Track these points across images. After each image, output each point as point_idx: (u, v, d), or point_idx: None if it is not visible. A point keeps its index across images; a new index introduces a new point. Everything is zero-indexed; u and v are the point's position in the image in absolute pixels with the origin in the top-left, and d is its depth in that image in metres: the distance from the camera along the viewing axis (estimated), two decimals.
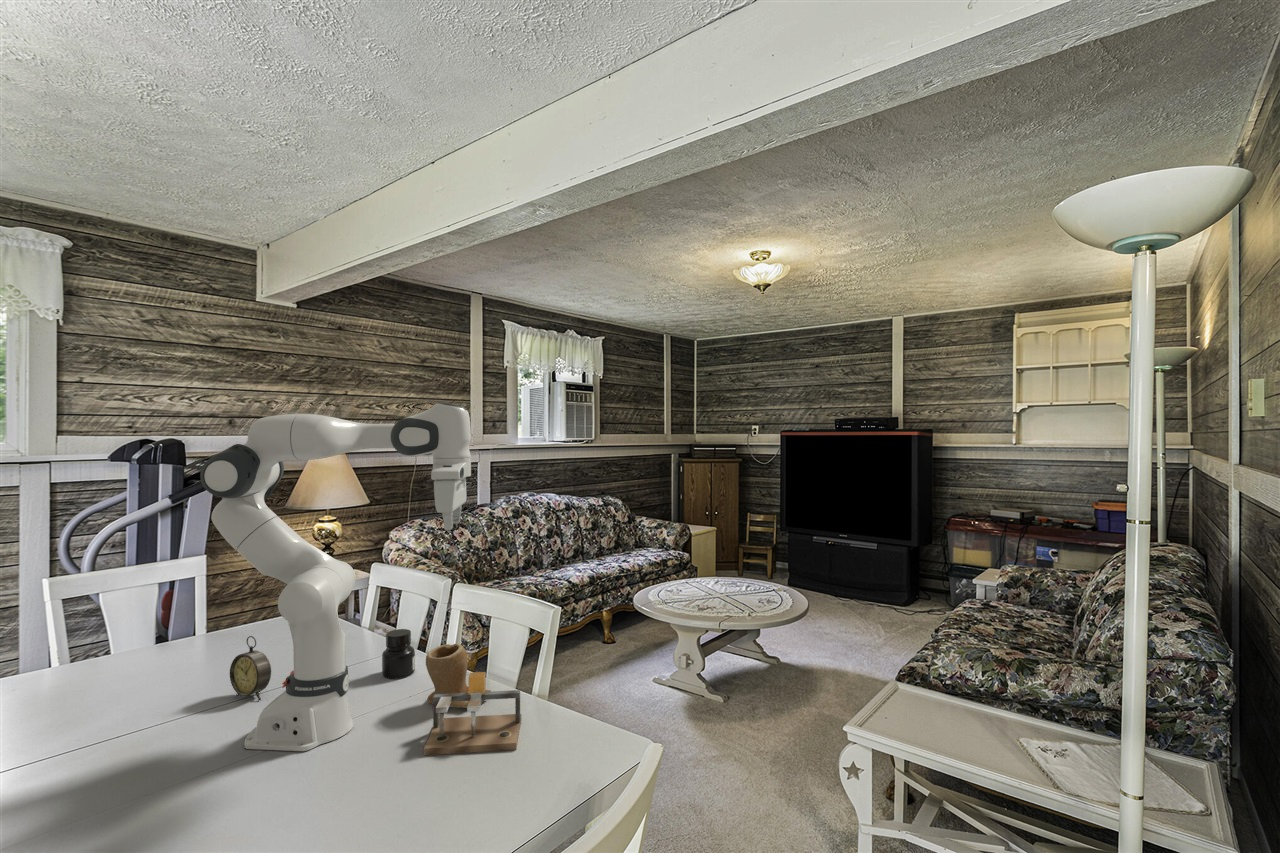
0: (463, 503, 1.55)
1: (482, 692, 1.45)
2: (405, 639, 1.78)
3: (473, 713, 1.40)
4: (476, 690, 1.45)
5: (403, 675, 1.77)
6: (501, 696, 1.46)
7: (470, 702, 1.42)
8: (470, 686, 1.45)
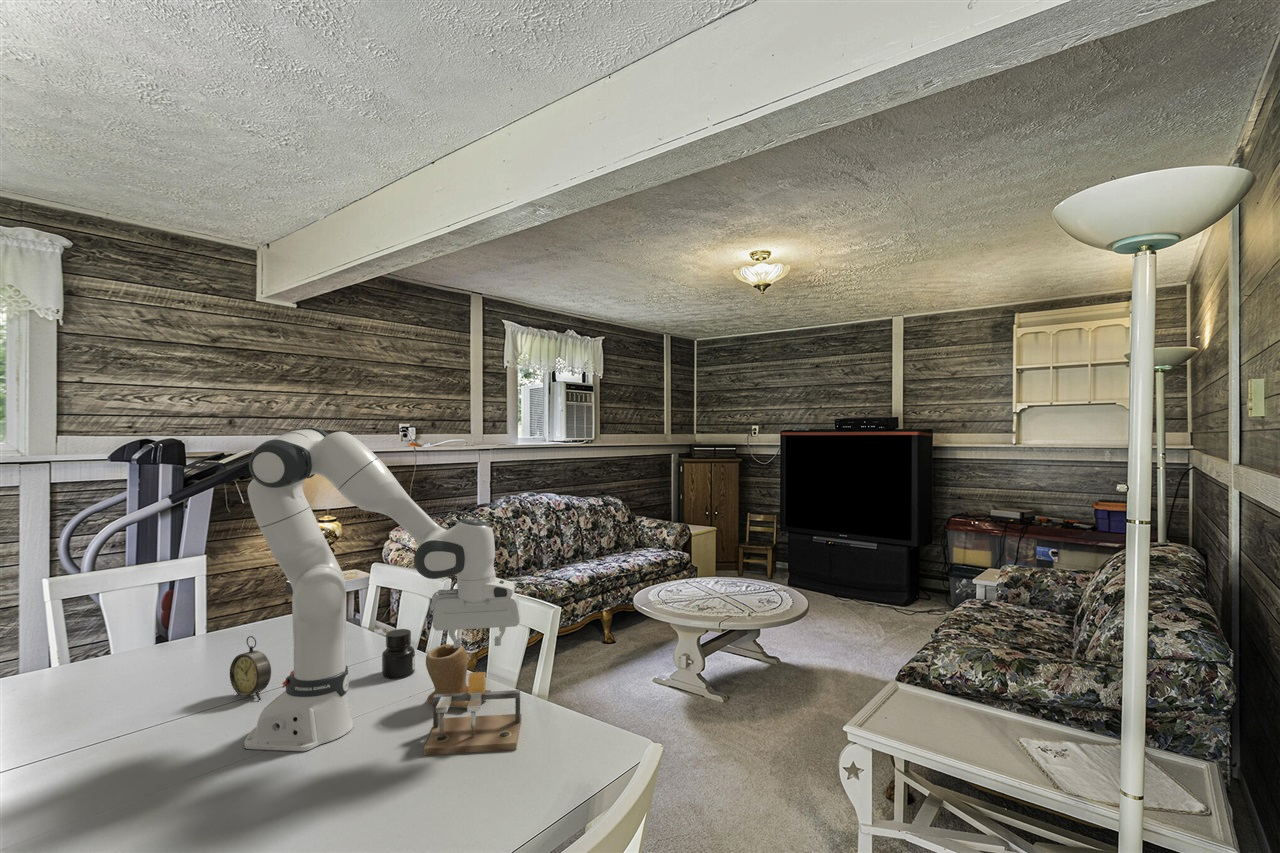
0: None
1: (482, 692, 1.45)
2: (405, 639, 1.78)
3: (473, 713, 1.40)
4: (476, 690, 1.45)
5: (403, 675, 1.77)
6: (501, 696, 1.46)
7: (470, 702, 1.42)
8: (470, 686, 1.45)
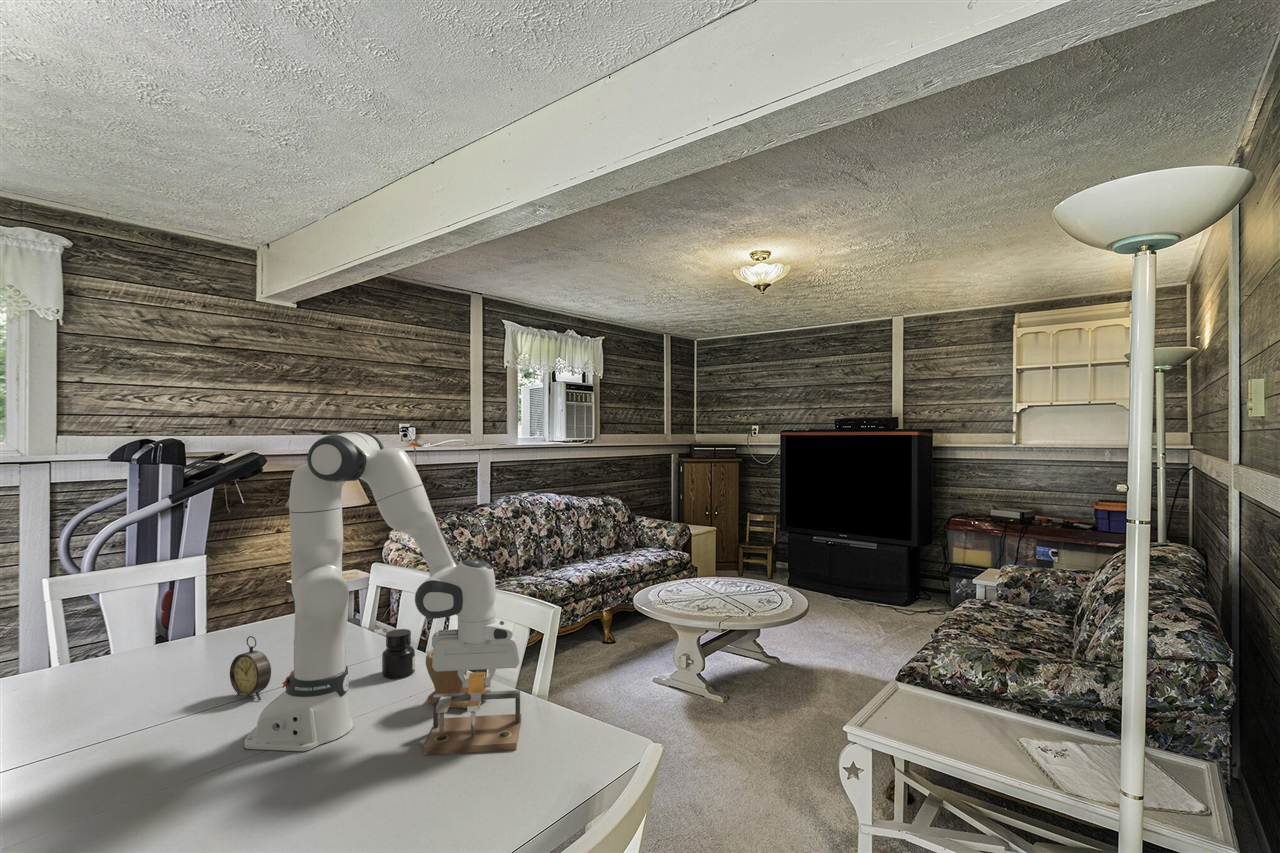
0: None
1: (482, 692, 1.45)
2: (405, 639, 1.78)
3: (473, 713, 1.40)
4: (476, 690, 1.45)
5: (403, 675, 1.77)
6: (501, 696, 1.46)
7: (470, 702, 1.42)
8: (470, 686, 1.45)
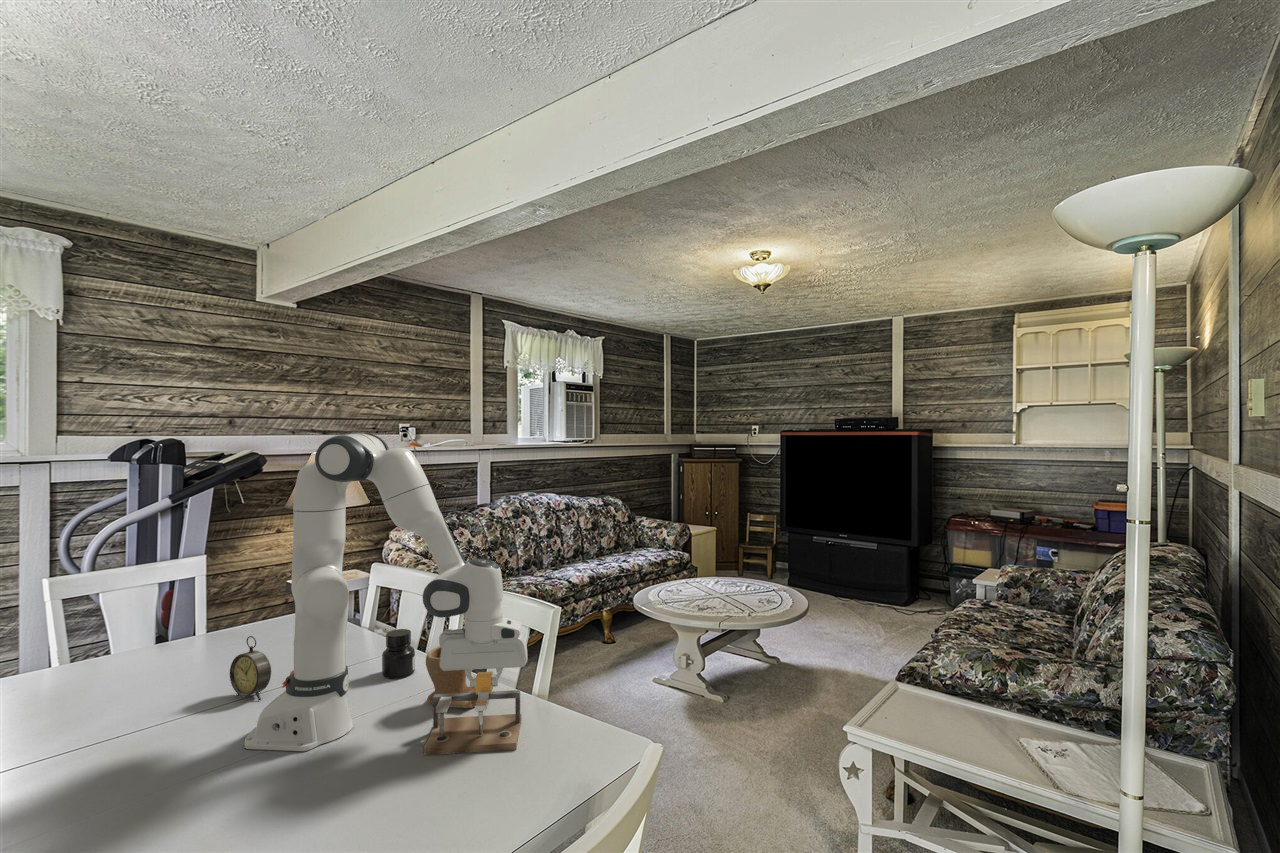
0: None
1: (489, 692, 1.45)
2: (405, 639, 1.78)
3: (481, 713, 1.40)
4: (483, 690, 1.45)
5: (403, 675, 1.77)
6: (501, 696, 1.46)
7: (477, 702, 1.42)
8: (477, 686, 1.45)
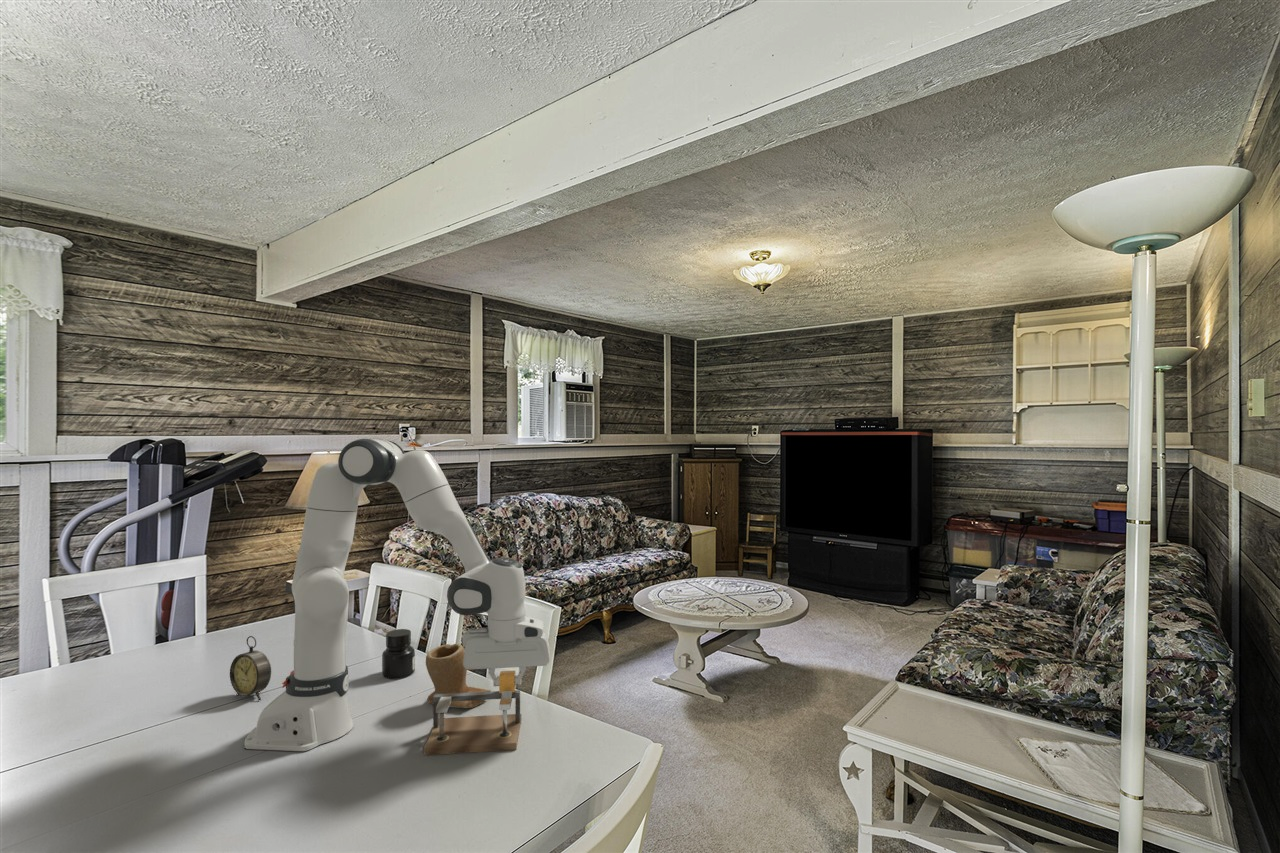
0: None
1: (513, 690, 1.46)
2: (405, 639, 1.78)
3: (505, 711, 1.41)
4: (507, 688, 1.46)
5: (403, 675, 1.77)
6: None
7: (501, 700, 1.42)
8: (501, 684, 1.45)
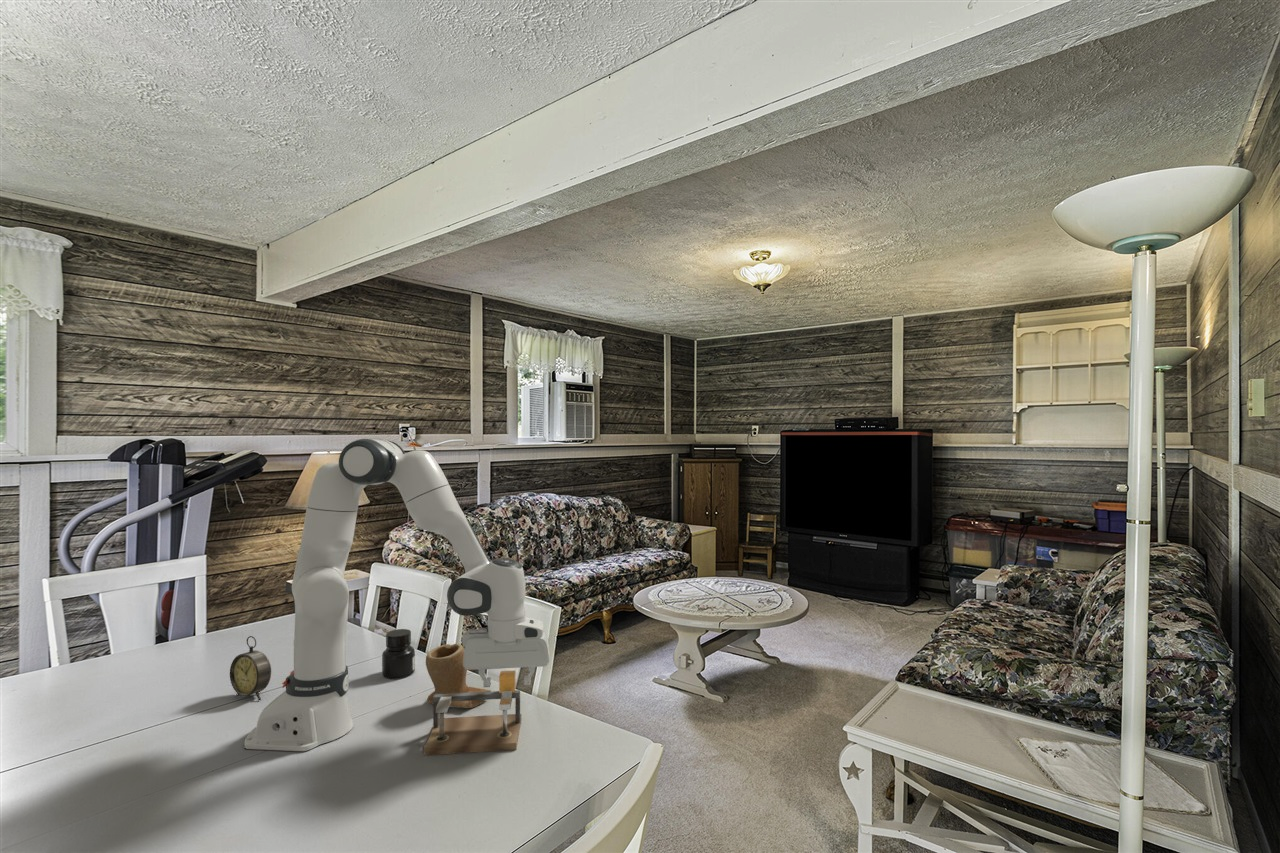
0: None
1: (513, 690, 1.46)
2: (405, 639, 1.78)
3: (505, 711, 1.41)
4: (507, 688, 1.46)
5: (403, 675, 1.77)
6: None
7: (501, 700, 1.42)
8: (501, 684, 1.45)
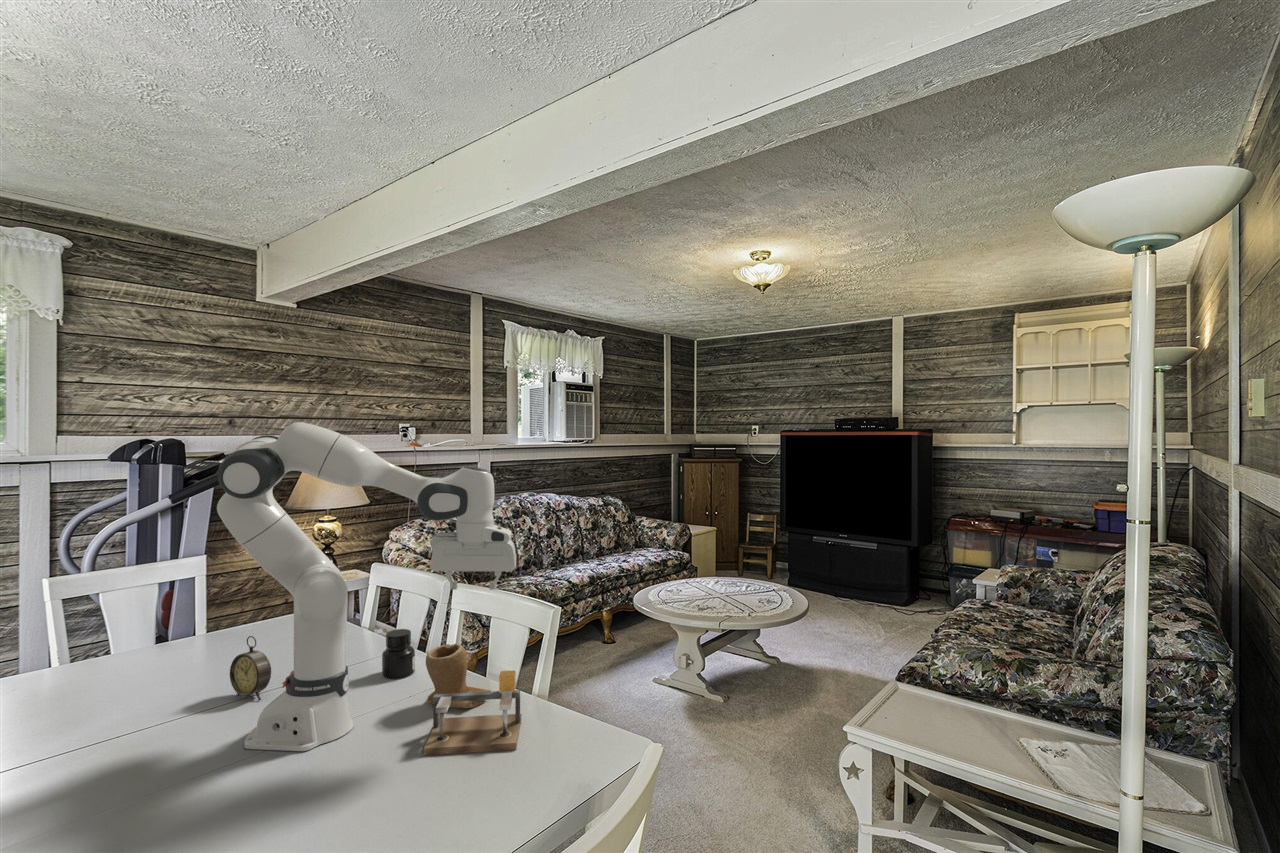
0: None
1: (513, 690, 1.46)
2: (405, 639, 1.78)
3: (505, 711, 1.41)
4: (507, 688, 1.46)
5: (403, 675, 1.77)
6: None
7: (501, 700, 1.42)
8: (501, 684, 1.45)
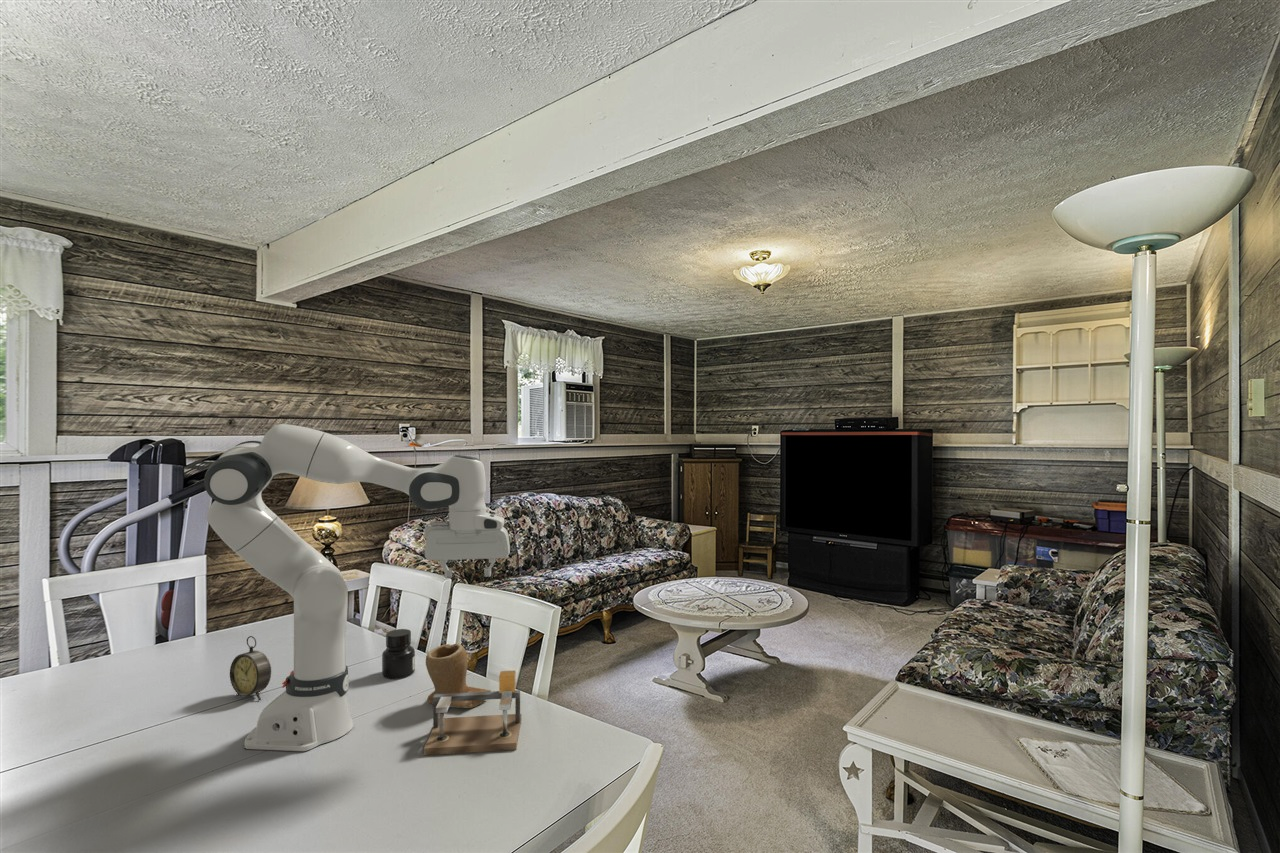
0: None
1: (513, 690, 1.46)
2: (405, 639, 1.78)
3: (505, 711, 1.41)
4: (507, 688, 1.46)
5: (403, 675, 1.77)
6: None
7: (501, 700, 1.42)
8: (501, 684, 1.45)
